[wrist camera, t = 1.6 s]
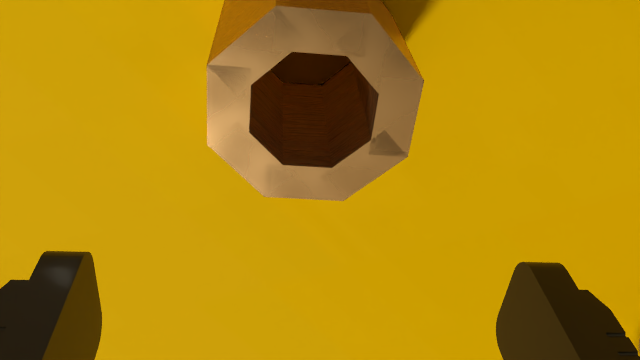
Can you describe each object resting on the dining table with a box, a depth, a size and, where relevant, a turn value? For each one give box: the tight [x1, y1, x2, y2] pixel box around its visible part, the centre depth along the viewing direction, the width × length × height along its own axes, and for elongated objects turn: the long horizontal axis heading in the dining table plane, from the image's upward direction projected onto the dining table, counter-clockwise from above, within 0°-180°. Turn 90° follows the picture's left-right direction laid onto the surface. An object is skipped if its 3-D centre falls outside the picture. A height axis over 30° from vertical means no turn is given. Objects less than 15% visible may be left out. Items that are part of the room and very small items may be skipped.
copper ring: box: [207, 0, 424, 201], centre depth 19 cm, size 6×6×6 cm
